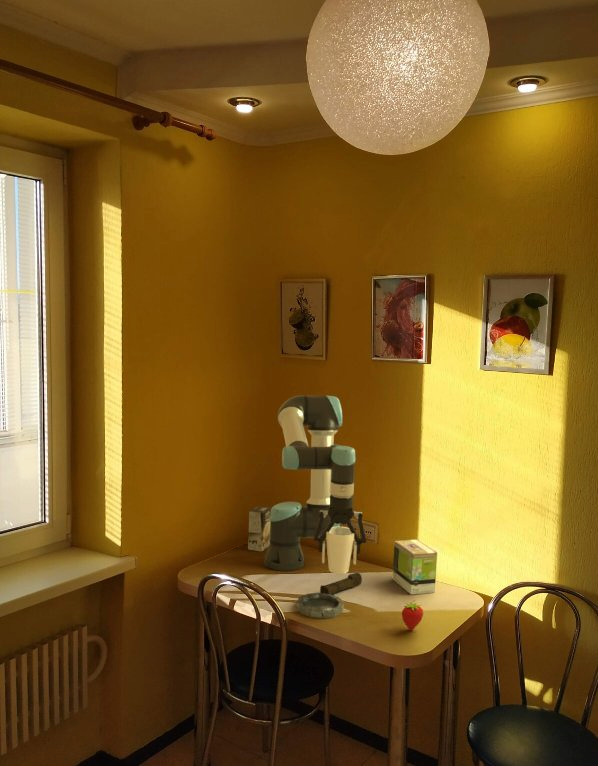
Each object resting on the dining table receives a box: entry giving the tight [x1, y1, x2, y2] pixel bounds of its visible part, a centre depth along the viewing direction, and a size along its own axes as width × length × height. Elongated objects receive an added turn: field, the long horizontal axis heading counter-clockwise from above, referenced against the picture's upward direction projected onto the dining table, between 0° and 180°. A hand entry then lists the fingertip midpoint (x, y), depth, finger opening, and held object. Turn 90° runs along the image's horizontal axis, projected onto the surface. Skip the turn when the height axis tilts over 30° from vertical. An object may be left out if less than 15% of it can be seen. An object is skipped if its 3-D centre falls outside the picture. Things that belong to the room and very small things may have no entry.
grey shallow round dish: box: [296, 592, 345, 620], centre depth 229 cm, size 15×15×2 cm
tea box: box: [392, 539, 438, 595], centre depth 250 cm, size 15×10×15 cm, turn 18°
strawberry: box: [401, 600, 424, 632], centre depth 214 cm, size 6×8×10 cm
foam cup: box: [325, 526, 355, 575], centre depth 226 cm, size 10×9×13 cm
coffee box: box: [247, 505, 272, 552], centre depth 285 cm, size 9×6×16 cm
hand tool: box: [319, 572, 363, 595], centre depth 244 cm, size 19×4×5 cm, turn 129°
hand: (338, 562), depth 226 cm, fingers closed on foam cup, 9 cm apart
